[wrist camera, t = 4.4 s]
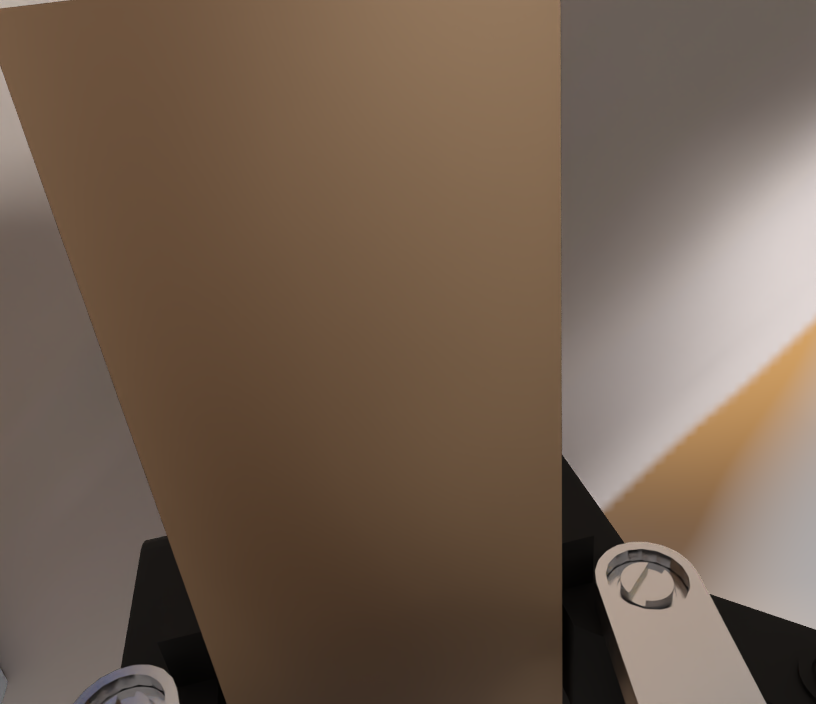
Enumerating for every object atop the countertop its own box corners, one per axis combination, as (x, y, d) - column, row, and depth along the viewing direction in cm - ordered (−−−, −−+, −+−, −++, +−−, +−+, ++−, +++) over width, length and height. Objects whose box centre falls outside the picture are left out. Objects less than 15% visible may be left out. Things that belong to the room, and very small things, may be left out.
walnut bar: (411, -36, 9) (560, -59, 5) (479, 715, 17) (562, 963, 13) (104, 1, 9) (-19, 10, 5) (315, 760, 16) (344, 1036, 12)
